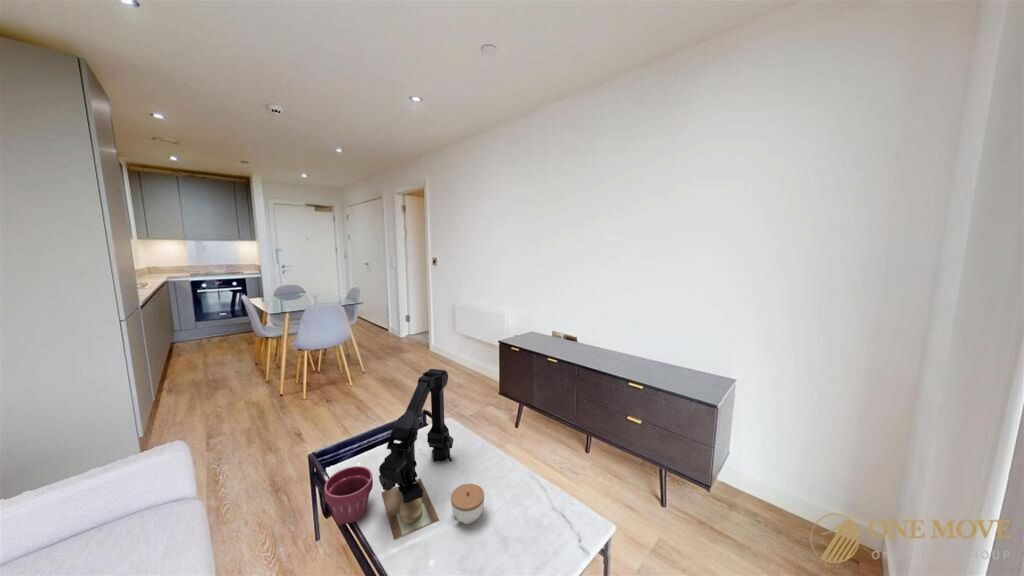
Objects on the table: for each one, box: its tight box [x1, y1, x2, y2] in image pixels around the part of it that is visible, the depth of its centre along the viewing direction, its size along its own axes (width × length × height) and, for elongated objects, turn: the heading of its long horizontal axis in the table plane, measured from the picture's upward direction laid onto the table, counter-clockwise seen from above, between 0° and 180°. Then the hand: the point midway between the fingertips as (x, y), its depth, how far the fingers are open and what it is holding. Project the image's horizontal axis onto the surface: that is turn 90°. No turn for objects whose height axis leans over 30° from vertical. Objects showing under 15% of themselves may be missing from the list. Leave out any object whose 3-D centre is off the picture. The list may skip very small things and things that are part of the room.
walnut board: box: [380, 478, 440, 541], centre depth 113 cm, size 14×22×1 cm, turn 31°
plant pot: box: [323, 465, 374, 527], centre depth 109 cm, size 14×14×13 cm
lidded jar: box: [450, 483, 485, 525], centre depth 109 cm, size 11×11×9 cm
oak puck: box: [399, 498, 422, 524], centre depth 108 cm, size 7×7×4 cm
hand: (407, 501), depth 113 cm, fingers closed
